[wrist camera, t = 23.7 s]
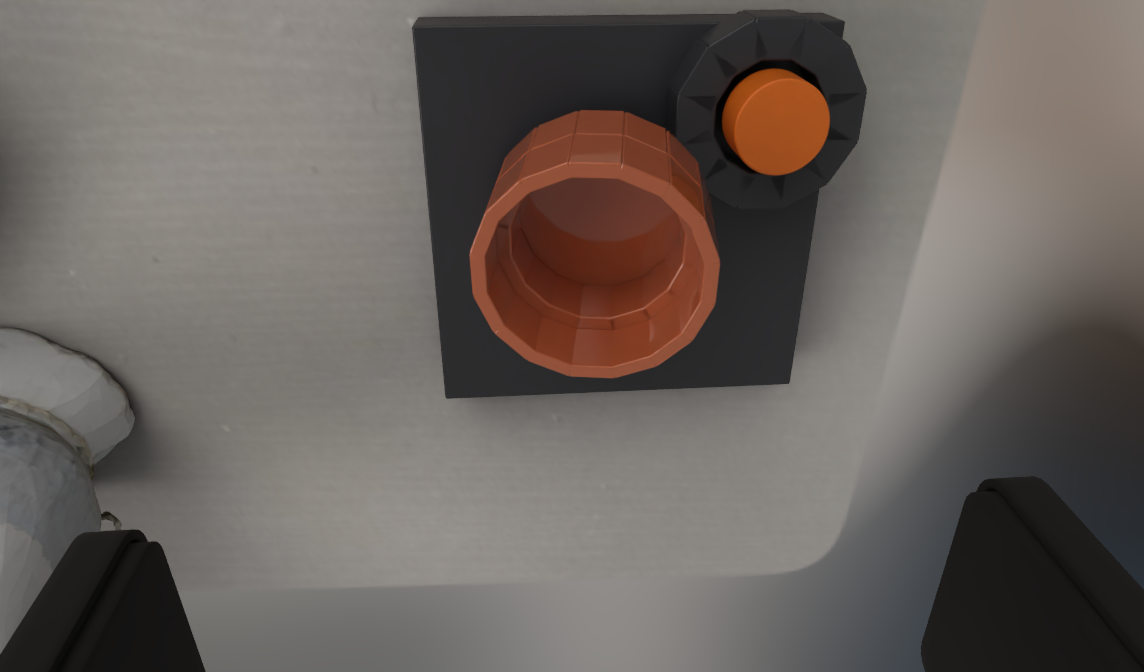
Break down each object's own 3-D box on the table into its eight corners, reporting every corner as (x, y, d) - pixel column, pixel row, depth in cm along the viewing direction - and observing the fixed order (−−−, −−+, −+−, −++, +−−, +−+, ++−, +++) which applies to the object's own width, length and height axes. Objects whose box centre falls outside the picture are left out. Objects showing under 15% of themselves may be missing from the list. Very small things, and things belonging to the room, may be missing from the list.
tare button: (725, 68, 24) (739, 79, 22) (819, 66, 24) (838, 77, 22) (717, 162, 25) (729, 177, 24) (805, 159, 25) (823, 175, 24)
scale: (416, 5, 25) (405, 20, 22) (836, 1, 26) (880, 15, 23) (448, 372, 32) (443, 424, 28) (783, 358, 32) (812, 407, 29)
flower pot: (488, 101, 24) (460, 158, 21) (719, 106, 24) (732, 166, 20) (500, 295, 28) (478, 373, 25) (698, 302, 28) (706, 383, 24)
